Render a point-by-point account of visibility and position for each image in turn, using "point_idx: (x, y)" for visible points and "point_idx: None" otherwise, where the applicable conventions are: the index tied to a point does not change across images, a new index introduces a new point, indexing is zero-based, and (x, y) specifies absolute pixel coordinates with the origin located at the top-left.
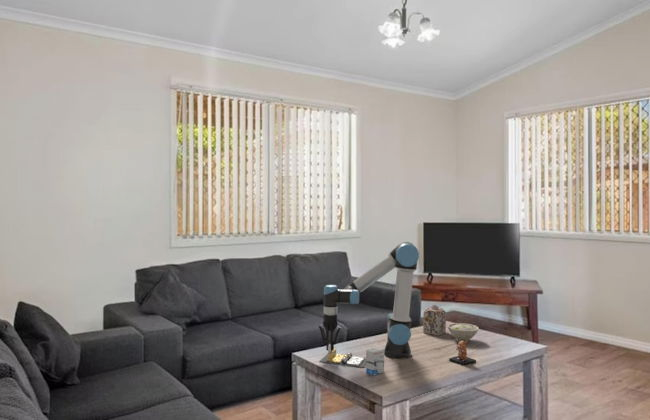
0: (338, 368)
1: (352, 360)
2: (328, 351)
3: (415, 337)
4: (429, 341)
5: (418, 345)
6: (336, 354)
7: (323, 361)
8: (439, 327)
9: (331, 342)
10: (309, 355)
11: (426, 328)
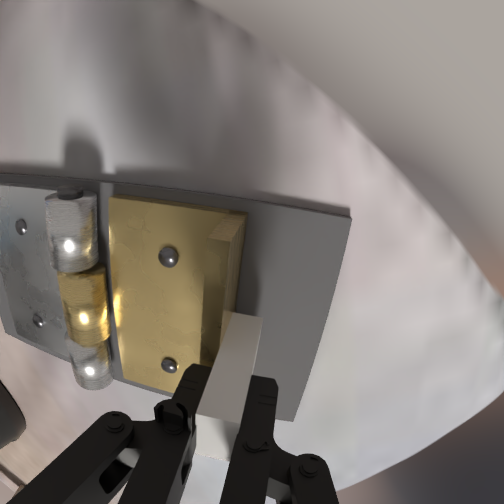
0: (108, 78)
1: (41, 269)
2: (246, 357)
3: None
4: (9, 463)
5: (5, 448)
6: None
7: (300, 224)
8: (12, 497)
9: (165, 451)
10: (442, 373)
11: None
